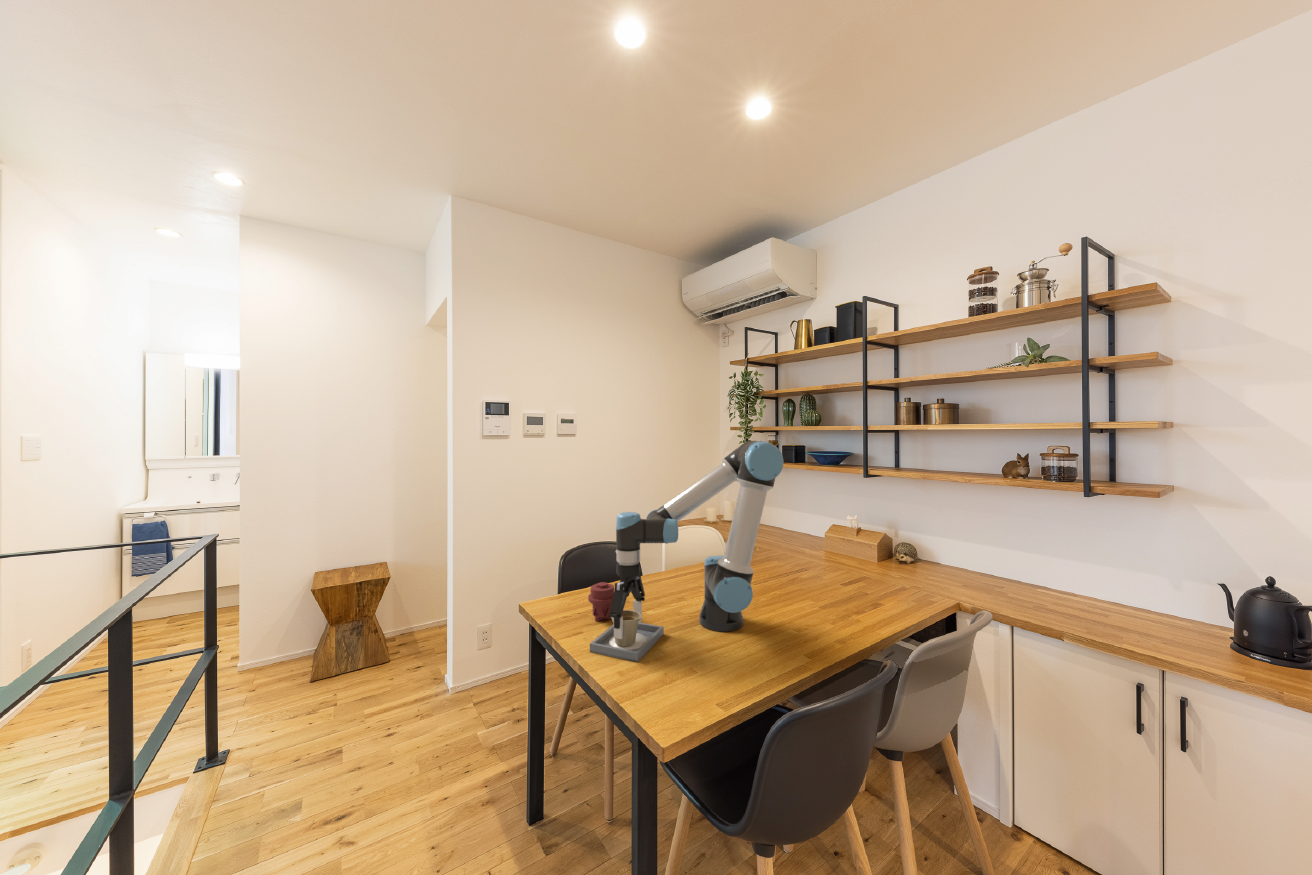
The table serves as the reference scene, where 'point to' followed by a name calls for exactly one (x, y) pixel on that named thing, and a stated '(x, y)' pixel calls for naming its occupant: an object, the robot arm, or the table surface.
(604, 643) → the housing tray
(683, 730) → the table surface
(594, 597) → the mechanical component
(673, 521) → the robot arm
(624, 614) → the flower pot
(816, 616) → the table surface
